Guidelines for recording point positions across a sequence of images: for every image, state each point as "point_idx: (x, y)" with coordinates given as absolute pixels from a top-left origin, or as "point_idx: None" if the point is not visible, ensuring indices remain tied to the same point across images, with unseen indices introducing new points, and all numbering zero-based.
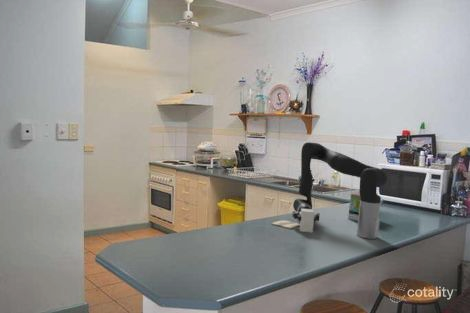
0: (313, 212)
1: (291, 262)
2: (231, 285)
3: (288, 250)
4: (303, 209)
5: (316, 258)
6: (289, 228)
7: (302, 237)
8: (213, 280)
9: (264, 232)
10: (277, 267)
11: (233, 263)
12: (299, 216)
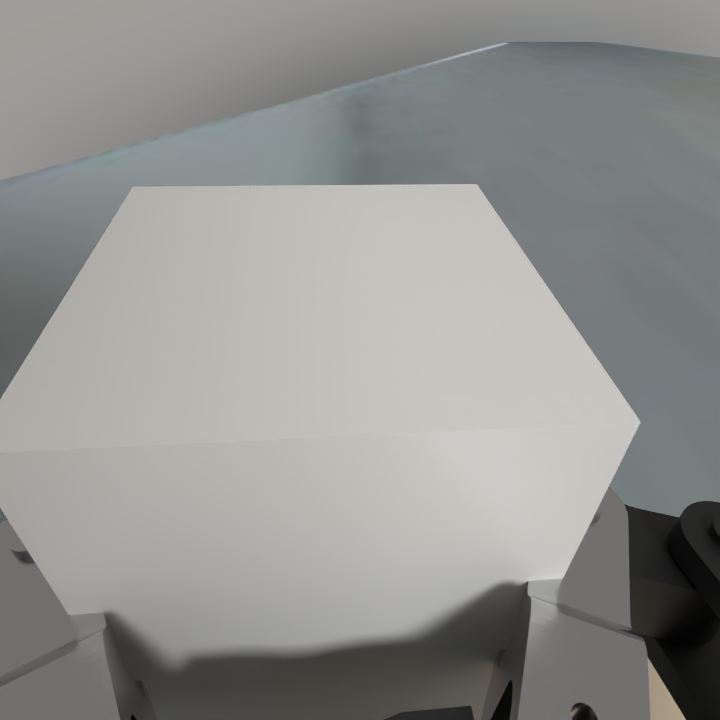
0: (164, 197)
1: (398, 108)
2: (510, 56)
3: (433, 157)
4: (481, 306)
5: (293, 132)
6: None
7: None
8: (559, 60)
9: None
10: (437, 91)
11: (576, 90)
12: None
